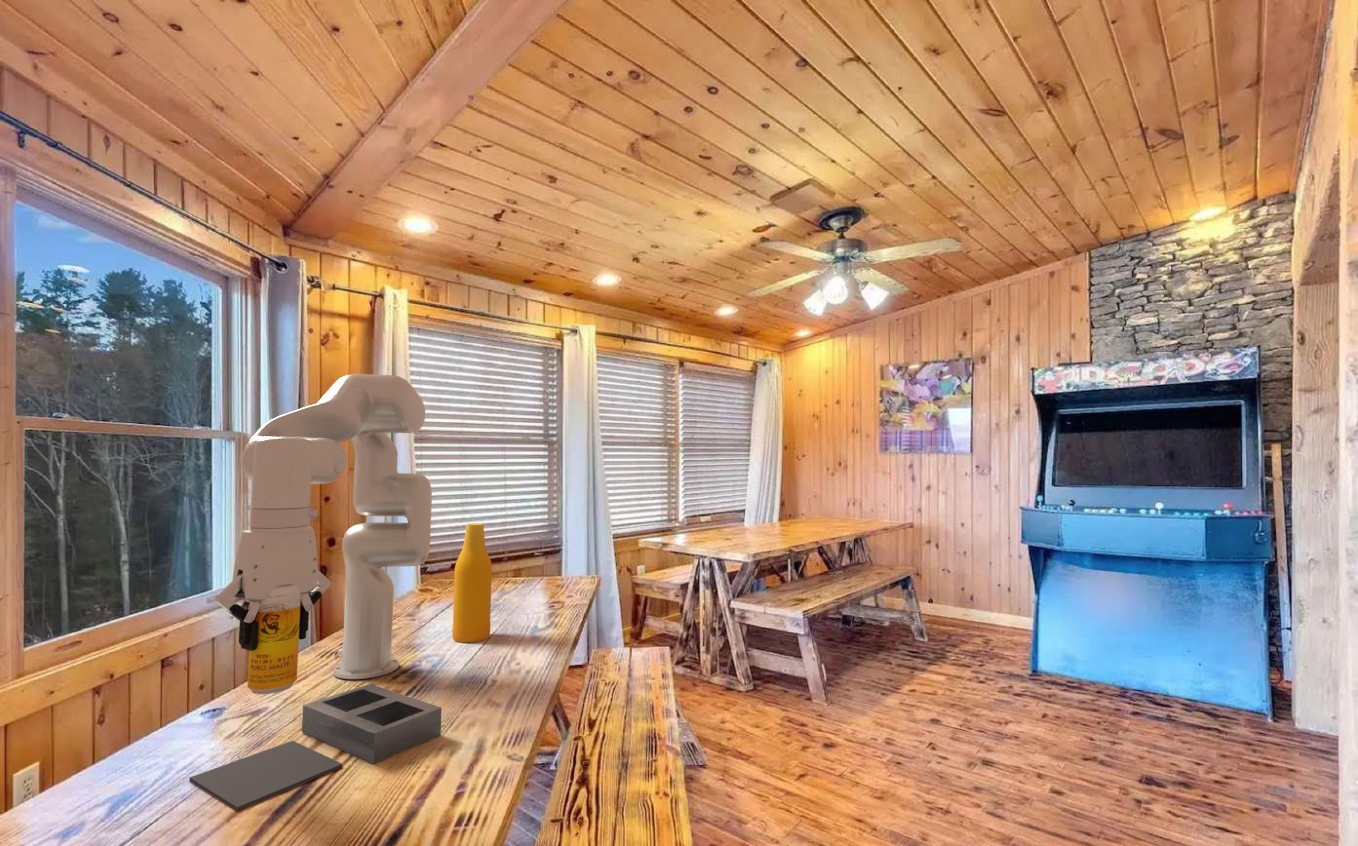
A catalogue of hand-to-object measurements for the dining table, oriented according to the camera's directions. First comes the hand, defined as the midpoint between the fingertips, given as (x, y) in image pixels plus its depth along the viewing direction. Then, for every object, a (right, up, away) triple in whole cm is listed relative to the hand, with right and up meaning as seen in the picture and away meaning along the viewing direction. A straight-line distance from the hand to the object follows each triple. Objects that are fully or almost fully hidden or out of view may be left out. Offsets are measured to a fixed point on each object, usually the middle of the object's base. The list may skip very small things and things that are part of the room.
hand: (274, 641), depth 92 cm
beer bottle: (+6, -23, +69) cm, 73 cm away
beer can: (0, -7, 0) cm, 7 cm away
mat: (0, -19, -1) cm, 19 cm away
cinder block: (+8, -20, +13) cm, 25 cm away
